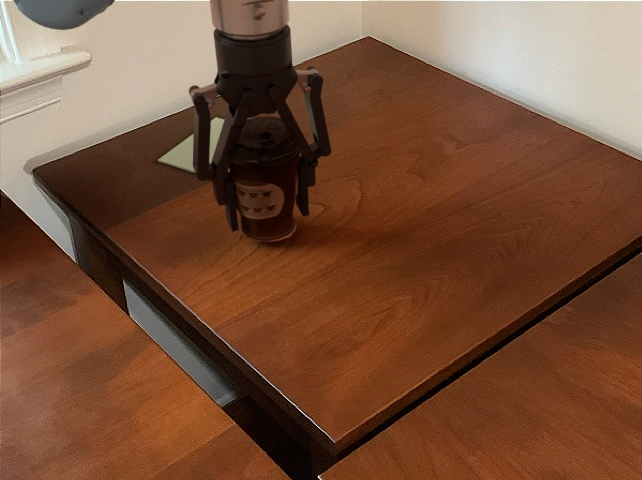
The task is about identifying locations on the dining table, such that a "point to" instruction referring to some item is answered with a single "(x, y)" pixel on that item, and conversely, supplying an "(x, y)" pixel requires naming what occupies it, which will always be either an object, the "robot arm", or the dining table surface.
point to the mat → (184, 151)
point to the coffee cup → (265, 178)
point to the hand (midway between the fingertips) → (267, 216)
